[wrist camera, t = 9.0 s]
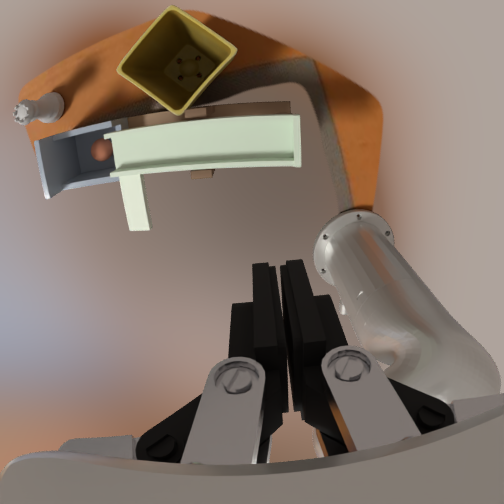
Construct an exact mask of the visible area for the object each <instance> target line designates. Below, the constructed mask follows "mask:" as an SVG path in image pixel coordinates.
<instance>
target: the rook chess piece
mask: <svg viewBox="0 0 504 504" xmlns="http://www.w3.org/2000/svg"><path fill="white" fill-rule="evenodd" d="M14 109H15V110H16V111H15V112H13V116H15V117H16V119H14V120H15V122H18V123H19V124H21V125H27V124H28V123H30V122H32V121H34V120H36V119H39V120H40V121H42V122H44V123H52V122H55V121H57V120H58V119H59V118H60V117H61V115H62V113H63V110H64V101H63V98H62V96H61V95H60V94H59V93H56V92H51V93H47V94H45V95H43V96H42V97H41V98H40V99H39V100H37V101H34V100H31V101H30V100H27V99H26V100H22V101H21V102H20V103H19V104H18V105H17V106H16V107H15V108H14Z"/></svg>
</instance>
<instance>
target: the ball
mask: <svg viewBox="0 0 504 504" xmlns="http://www.w3.org/2000/svg"><path fill="white" fill-rule="evenodd" d="M112 153H113V147H112V143H111V141H110V140H108V139H104V138H100V139H98V140H96V141H95V142H94V143H93V145H92V147H91V154H92V157H93V158H94V159H95V160H97V161H105V160H107V159H109V158H110V157H111V155H112Z"/></svg>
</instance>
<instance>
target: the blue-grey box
mask: <svg viewBox="0 0 504 504" xmlns="http://www.w3.org/2000/svg"><path fill="white" fill-rule="evenodd" d="M127 118H129V117H125V118H120V119H115V120H110V121H106V122H101V123H97V124H93V125H88V126H84V127H80V128H76V129H73V130H69V131H66V132H62V133H59V134H56V135H53V136H49V137H46V138H43V139H40V140H37V141H34V144H35V150H36V156H37V161H38V166H39V171H40V176H41V181H42V185H43V189H44V194H45V198H46V199H50V198H52V197H53V196H55V195H56V194H57V193H59V192H61V191H62V190H67V189H72V188H78V187H84V186H90V185H95V184H102V183H108V182H114V181H120V180H119V177H110V173H111V172H112V171H114V170H116V166H115V160H114V153H112V155H111V157H110V158H109V159H107V160H105V161H97V160H95V159H94V158H93V157H92V154H91V147H92V145H93V143H94V142H95V141H96V140H98V139H100V138H104V134H107V133H110V132H114V131H119V130H124V129H129V127H128V119H127ZM108 140H110V141H111V143H112V140H111V138H109V139H108Z"/></svg>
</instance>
